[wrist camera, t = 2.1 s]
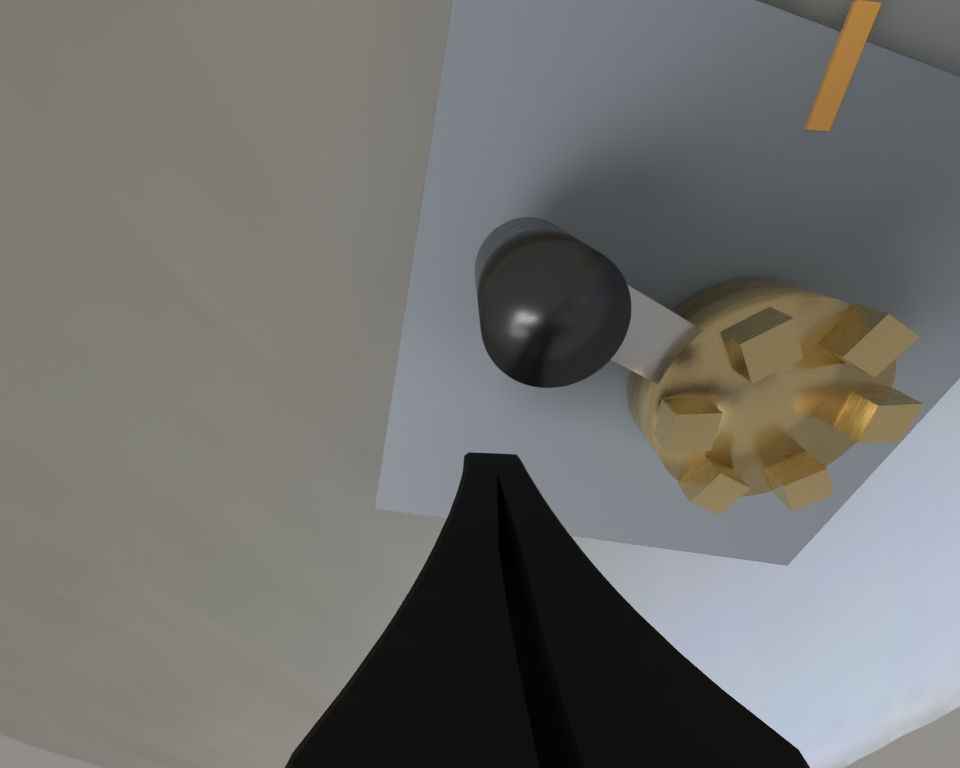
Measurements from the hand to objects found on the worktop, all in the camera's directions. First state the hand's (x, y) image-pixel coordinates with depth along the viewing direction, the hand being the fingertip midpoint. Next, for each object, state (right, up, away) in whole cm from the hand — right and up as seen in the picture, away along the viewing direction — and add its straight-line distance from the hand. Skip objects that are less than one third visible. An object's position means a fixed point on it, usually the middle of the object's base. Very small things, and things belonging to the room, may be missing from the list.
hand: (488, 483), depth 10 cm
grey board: (+7, +4, +4) cm, 9 cm away
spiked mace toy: (+5, +4, +2) cm, 7 cm away
